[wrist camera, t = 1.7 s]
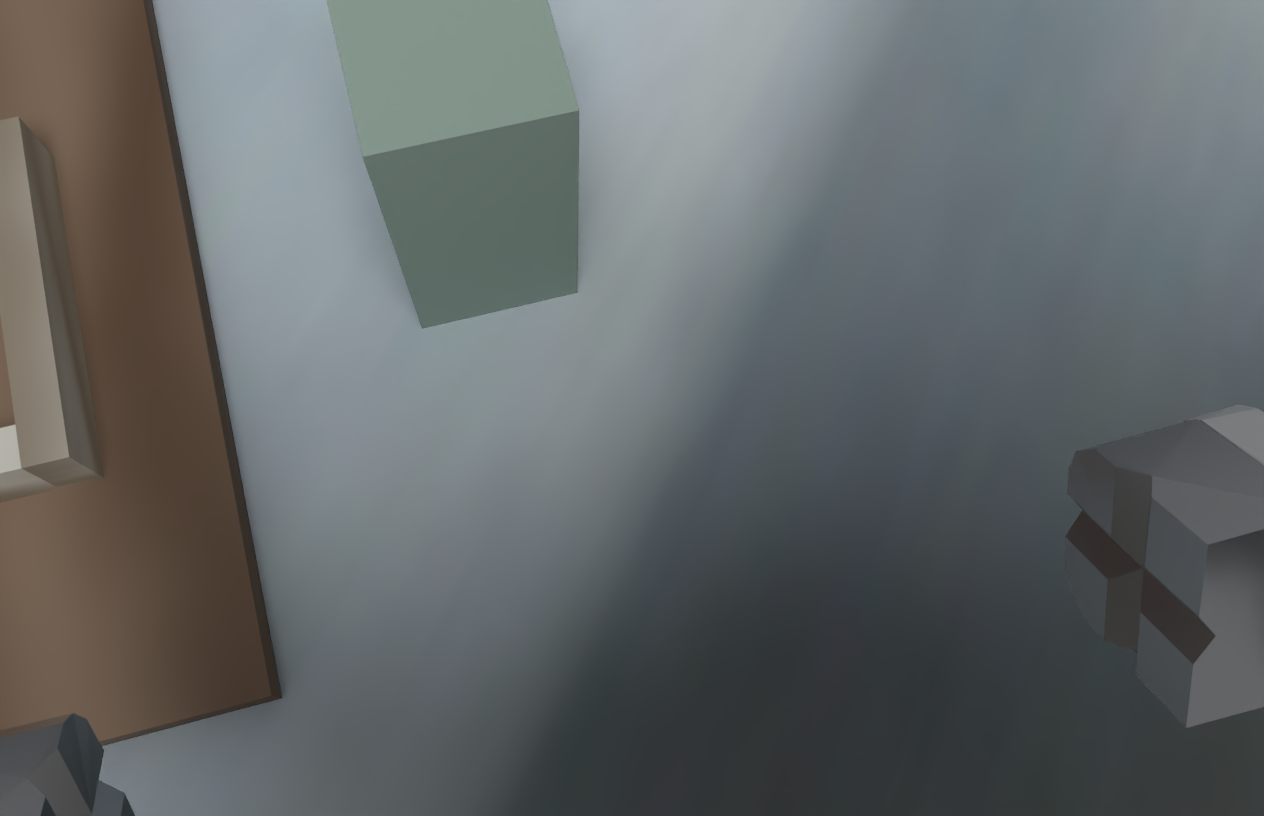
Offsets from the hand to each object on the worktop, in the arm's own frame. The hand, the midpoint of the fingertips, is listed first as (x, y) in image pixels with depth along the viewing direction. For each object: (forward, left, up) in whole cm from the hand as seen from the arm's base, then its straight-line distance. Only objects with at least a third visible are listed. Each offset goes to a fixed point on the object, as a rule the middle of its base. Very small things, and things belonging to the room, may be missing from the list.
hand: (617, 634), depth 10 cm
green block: (0, -12, -19) cm, 22 cm away
